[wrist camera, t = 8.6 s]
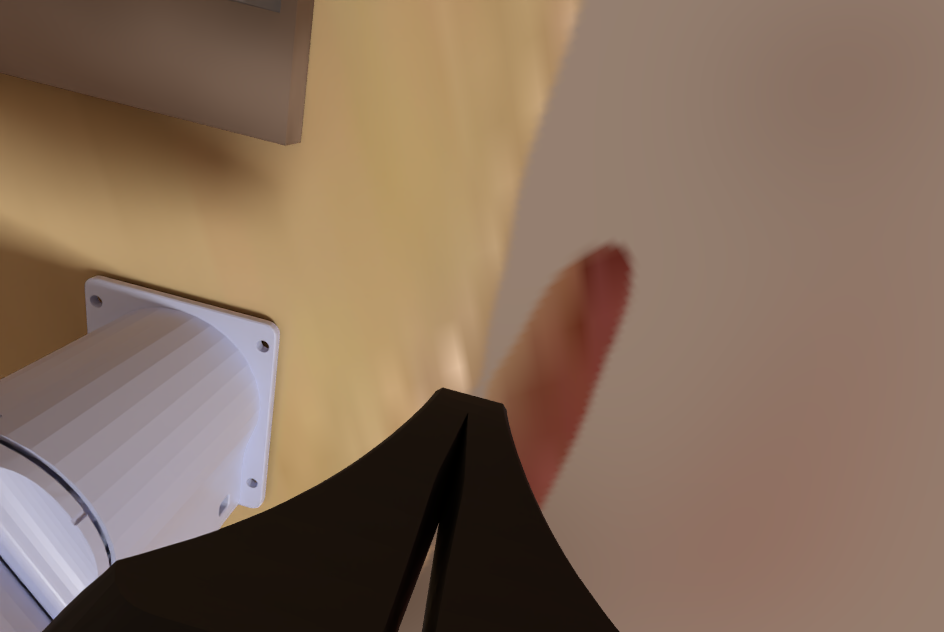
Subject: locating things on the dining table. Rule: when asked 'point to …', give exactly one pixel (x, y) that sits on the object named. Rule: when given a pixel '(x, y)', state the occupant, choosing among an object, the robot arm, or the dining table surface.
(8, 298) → the dining table surface
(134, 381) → the robot arm
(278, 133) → the grey slider rail
